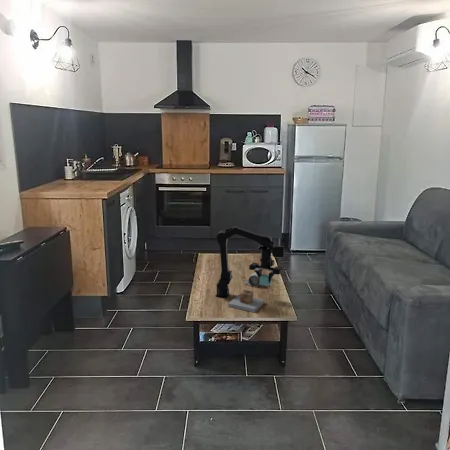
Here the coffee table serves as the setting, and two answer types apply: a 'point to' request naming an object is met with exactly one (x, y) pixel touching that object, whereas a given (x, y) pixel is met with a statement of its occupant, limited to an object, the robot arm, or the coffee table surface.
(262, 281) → the teal block
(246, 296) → the walnut block
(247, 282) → the ceramic mug
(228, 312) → the coffee table surface
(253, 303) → the base plate
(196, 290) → the coffee table surface
